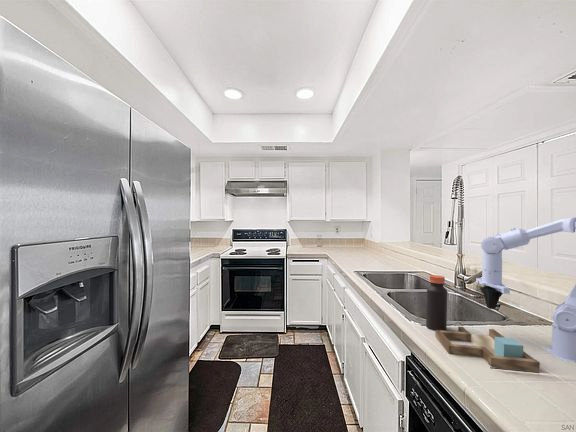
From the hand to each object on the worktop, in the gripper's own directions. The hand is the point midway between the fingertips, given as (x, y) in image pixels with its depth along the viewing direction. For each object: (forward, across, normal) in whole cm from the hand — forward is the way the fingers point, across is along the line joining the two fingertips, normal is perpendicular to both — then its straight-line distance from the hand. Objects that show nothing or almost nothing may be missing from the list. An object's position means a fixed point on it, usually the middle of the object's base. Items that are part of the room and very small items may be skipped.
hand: (491, 308), depth 101 cm
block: (+9, +17, -6) cm, 20 cm away
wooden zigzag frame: (+10, +11, -12) cm, 19 cm away
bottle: (+10, -4, -17) cm, 20 cm away
